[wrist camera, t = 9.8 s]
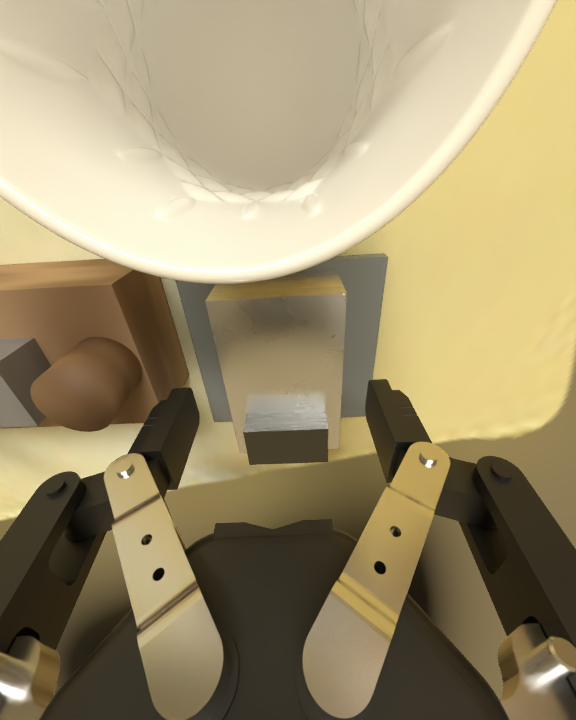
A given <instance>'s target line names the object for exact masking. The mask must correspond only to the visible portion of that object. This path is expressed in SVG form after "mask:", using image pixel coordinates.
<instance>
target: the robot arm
mask: <svg viewBox="0 0 576 720" xmlns="http://www.w3.org/2000/svg"><path fill="white" fill-rule="evenodd" d="M365 414H366V419H367V422H368V426H369V429H370V432H371V435H372V438H373V441H374V444H375V448H376V451H377V454H378V457H379V460H380V463H381V466H382V469H383V473H384V476H385V479H386V482H387V483H389V482H391V484H390V486H387V487H386V489H385V490H384V492H383V494H382V496H381V498H380V500H379V502H378V504H377V506H376V508H375V510H374V512H373V514H372V516H371V517H370V519H369V521H368V523H367V525H366V527H365V529H364V531H363V533H362V535H361V537H360V539H359V541H358V540H357V539H355V538H354V537H352V536H351V535H349V534H347V533H345V532H342V531H340V530H337V529H333V526H332V520H331V519H330V520H303V521H300V522H296V523H293V524H290V525H286V526H283V527H280V528H277V529H269V528H265V527H260V526H256V525H252V524H248V523H244V522H243V523H216V524H215V529H214V533H213V534H210V535H207V536H205V537H203V538H201V539H200V540H198V541H196V542H195V543H193V544H192V545H191V546H189V547H188V548H186V546H185V543H184V541H183V539H182V537H181V535H180V533H179V530H178V528H177V526H176V523H175V521H174V519H173V517H172V514H171V512H170V510H169V508H168V505H167V503H166V501H165V499H164V497H165V494H166V492H167V490H176V489H178V486H179V483H180V480H181V477H182V474H183V471H184V468H185V465H186V462H187V459H188V456H189V453H190V450H191V447H192V444H193V441H194V438H195V435H196V432H197V429H198V426H199V411H198V408H197V405H196V401H195V398H194V395H193V391H192V389H191V388H174V389H172V390H171V392H170V394H169V396H168V398H167V400H161V401H160V402H159V403H158V404H157V405H156V406H155V407H153V408H152V410H151V412H150V414H149V416H148V419H146V421H145V423H144V426H143V427H142V428H141V430H140V432H139V434H138V436H137V438H136V439H135V441H134V443H133V445H132V447H131V448H130V450H129V452H128V454H126V455H123V456H121V457H119V458H117V459H116V460H115V461H113V462H112V463H111V464H110V465H109V466H108V468H107V469H106V471H105V472H102V473H99V474H96V475H93V476H89V477H86V478H83V479H81V478H80V477H79V476H78V474H77V473H75V472H63V473H59V474H57V475H55V476H53V477H51V478H49V479H48V480H46V481H45V482H44V483H43V484H41V485H40V486H39V487H38V489H37V490H36V491H35V493H34V494H33V496H32V497H31V498H30V500H29V501H28V503H27V504H26V505H25V507H24V508H23V510H22V511H21V513H20V514H19V515H18V517H17V518H16V520H15V521H14V523H13V524H12V525H11V527H10V528H9V530H8V531H7V532H6V534H5V535H4V537H3V538H2V540H1V541H0V720H576V549H575V548H574V546H573V545H572V544H571V542H570V541H569V539H568V538H567V536H566V535H565V533H564V532H563V530H562V529H561V528H560V526H559V525H558V523H557V522H556V520H555V519H554V518H553V516H552V515H551V513H550V512H549V510H548V509H547V508H546V506H545V505H544V503H543V502H542V500H541V499H540V497H539V496H538V495H537V493H536V492H535V490H534V489H533V487H532V486H531V484H530V483H529V482H528V480H527V479H526V477H525V476H524V474H523V473H522V472H521V471H520V470H519V469H518V468H517V467H516V466H515V465H513V464H512V463H511V462H508V461H507V460H504V459H502V458H499V457H494V456H486V457H482V458H481V459H479V461H478V462H477V464H474V463H470V462H465V461H461V460H456V459H453V458H450V457H448V455H447V454H446V452H444V451H443V449H441V448H440V447H438V446H437V445H435V444H432V442H431V440H430V438H429V436H428V434H427V432H426V431H425V429H424V427H423V425H422V423H421V421H420V419H419V417H418V416H417V413H416V412H415V410H414V408H413V406H412V404H411V402H410V400H409V398H408V397H407V396H406V395H405V394H403V393H402V392H401V391H400V390H392V389H391V387H390V385H389V383H388V381H387V380H386V379H380V380H369V381H368V387H367V395H366V403H365ZM434 514H435V515H439V516H442V517H446V518H450V519H453V520H457V521H459V524H460V526H461V528H462V531H463V533H464V535H465V538H466V540H467V542H468V545H469V547H470V550H471V552H472V554H473V556H474V559H475V562H476V564H477V566H478V569H479V571H480V573H481V576H482V578H483V580H484V583H485V585H486V588H487V590H488V592H489V594H490V597H491V599H492V602H493V604H494V606H495V609H496V611H497V614H498V616H499V618H500V620H501V623H502V625H503V628H504V630H505V632H506V635H507V637H506V638H505V639H504V640H503V641H502V642H501V643H500V645H499V648H498V663H499V667H500V671H501V675H502V680H503V693H502V697H501V699H500V701H499V699H498V697H497V696H496V694H495V693H494V691H493V690H492V688H491V687H490V686H489V684H488V683H487V682H486V680H485V679H484V678H483V677H482V675H481V674H480V673H479V672H478V671H477V670H476V669H475V668H474V667H473V666H472V664H471V663H470V662H469V661H468V660H467V659H466V658H465V657H464V655H463V654H462V653H461V652H460V651H459V650H458V649H457V648H456V647H455V646H454V644H453V643H452V642H451V641H450V640H449V639H448V638H447V637H446V635H445V634H444V633H443V632H442V631H441V630H440V629H439V628H438V627H437V625H436V624H435V623H434V622H433V621H432V620H431V619H430V618H429V617H428V616H427V614H426V613H425V612H424V611H423V610H422V609H421V608H420V607H419V606H418V605H417V603H416V602H415V601H414V600H413V599H412V598H411V597H410V596H409V595H408V593H407V591H408V589H409V586H410V583H411V580H412V577H413V574H414V571H415V568H416V565H417V562H418V559H419V556H420V554H421V551H422V548H423V545H424V542H425V539H426V536H427V533H428V530H429V527H430V524H431V521H432V519H433V516H434ZM109 530H113V533H114V537H115V541H116V545H117V549H118V553H119V557H120V561H121V565H122V569H123V573H124V577H125V581H126V585H127V589H128V593H129V597H130V600H131V604H132V609H131V610H130V611H129V612H128V614H127V615H126V616H125V617H124V618H123V619H122V620H121V621H120V622H119V623H118V625H117V626H116V627H115V628H114V629H113V630H112V631H111V632H110V633H109V635H108V636H107V637H106V638H105V639H104V640H103V641H102V642H101V644H100V645H99V646H98V647H97V648H96V649H95V650H94V651H93V652H92V653H91V654H90V656H89V657H88V658H87V659H86V660H85V661H84V662H83V663H82V664H81V666H80V667H79V668H78V669H77V670H76V671H75V672H74V673H73V674H72V676H71V677H70V678H69V679H68V680H67V681H66V682H65V683H64V685H63V686H62V687H61V688H60V689H59V691H58V692H57V693H56V695H55V696H54V692H55V690H56V687H57V677H58V674H59V668H60V658H59V655H58V653H57V652H56V651H55V650H56V648H57V645H58V643H59V641H60V638H61V636H62V634H63V632H64V629H65V627H66V624H67V622H68V620H69V618H70V615H71V613H72V611H73V608H74V606H75V604H76V601H77V599H78V597H79V595H80V592H81V590H82V587H83V585H84V583H85V580H86V578H87V576H88V574H89V571H90V569H91V567H92V564H93V562H94V560H95V558H96V555H97V553H98V551H99V548H100V546H101V543H102V541H103V539H104V536H105V534H106V532H107V531H109Z"/></svg>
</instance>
